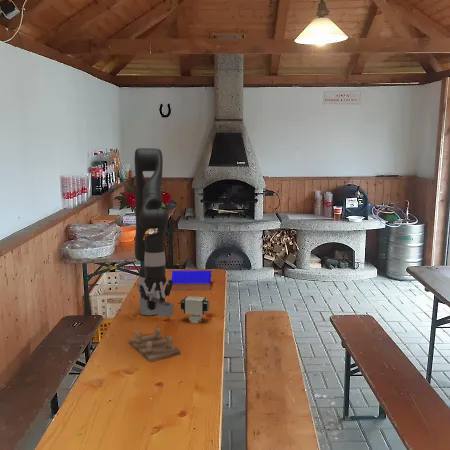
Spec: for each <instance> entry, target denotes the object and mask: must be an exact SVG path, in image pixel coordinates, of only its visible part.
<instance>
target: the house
mask: <svg viewBox="0 0 450 450" xmlns="http://www.w3.org/2000/svg"><path fill="white" fill-rule="evenodd" d="M211 278H212V270H172V273H171V280H173V284H172V288H171V291H211V283H212V282H211V281H212V279H211Z"/></svg>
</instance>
